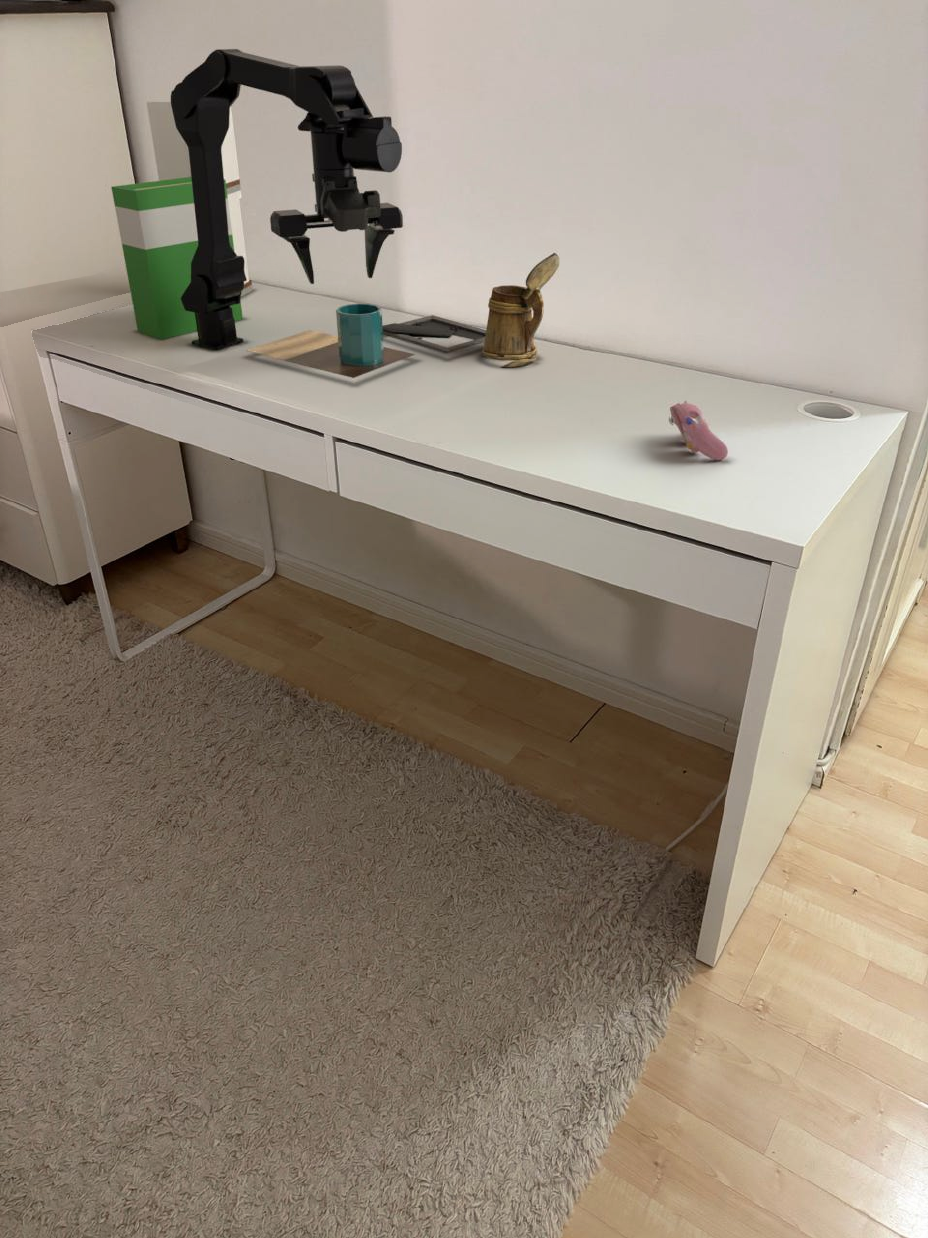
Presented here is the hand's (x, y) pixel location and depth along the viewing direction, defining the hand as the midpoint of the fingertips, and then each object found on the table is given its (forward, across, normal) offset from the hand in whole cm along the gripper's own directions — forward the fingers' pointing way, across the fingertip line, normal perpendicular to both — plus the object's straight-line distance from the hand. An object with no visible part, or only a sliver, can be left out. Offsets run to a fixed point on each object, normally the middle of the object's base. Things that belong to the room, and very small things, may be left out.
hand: (341, 280), depth 144 cm
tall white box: (+14, -9, +59) cm, 61 cm away
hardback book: (+14, -18, +38) cm, 44 cm away
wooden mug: (+14, +27, -7) cm, 31 cm away
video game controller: (+14, +31, -49) cm, 60 cm away
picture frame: (+14, +20, +10) cm, 26 cm away
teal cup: (+13, +3, +1) cm, 13 cm away
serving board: (+14, 0, +7) cm, 16 cm away
